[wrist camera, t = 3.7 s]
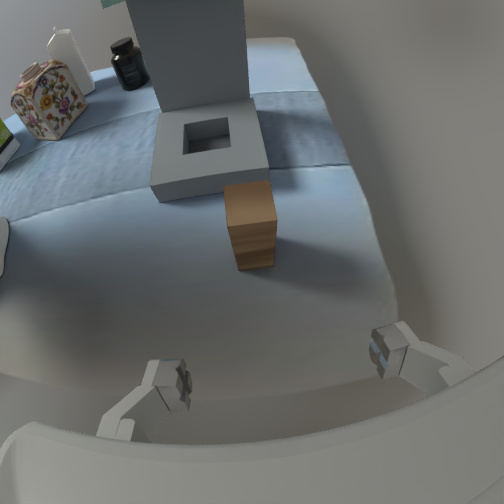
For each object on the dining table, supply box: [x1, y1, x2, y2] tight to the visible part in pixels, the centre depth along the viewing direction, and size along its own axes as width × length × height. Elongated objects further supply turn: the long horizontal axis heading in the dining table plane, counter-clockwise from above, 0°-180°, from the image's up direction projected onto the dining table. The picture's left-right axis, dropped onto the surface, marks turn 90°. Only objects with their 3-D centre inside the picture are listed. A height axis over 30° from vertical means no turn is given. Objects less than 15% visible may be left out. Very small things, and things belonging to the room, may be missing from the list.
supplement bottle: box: [110, 37, 149, 90], centre depth 44 cm, size 7×7×12 cm
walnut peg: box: [223, 180, 277, 271], centre depth 28 cm, size 4×4×11 cm
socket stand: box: [101, 0, 269, 202], centre depth 27 cm, size 17×15×28 cm
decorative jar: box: [11, 59, 88, 140], centre depth 39 cm, size 12×12×18 cm
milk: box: [47, 26, 95, 96], centre depth 41 cm, size 6×6×22 cm
